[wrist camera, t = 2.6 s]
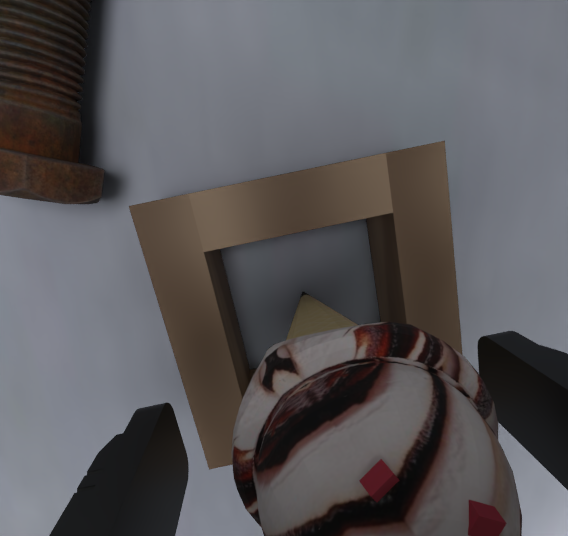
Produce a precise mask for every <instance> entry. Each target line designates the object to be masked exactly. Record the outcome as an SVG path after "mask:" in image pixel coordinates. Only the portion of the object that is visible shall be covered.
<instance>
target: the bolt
mask: <svg viewBox="0 0 568 536" xmlns="http://www.w3.org/2000/svg"><path fill="white" fill-rule="evenodd" d="M89 2H91V0H0V195H5V196H11V197H18V198H24V199H32V200H40V201H48V202H55V203H62V204H93V203H98V202H99V201H100V199H101V196H102V188H103V180H104V171H105V170H104V169H101V168H98V167H95V166H91V165H86V164H82V163H78V161H79V151H80V141H81V131H82V123H81V120H80V119H81V114H80V113H79V111H78V110H80V109H81V105H80V104H79V103H78V102H77V101H80V100H82V97H81V96H80V95H79V94H78V93H77V92H83V88H82V87H81V86H80V85H79V84H82V83H84V80H83V79H82V78H81V77H80V75H84V73H85V71H84V69H83V68H82V67H84V66H85V65H86V62H85V61H84V59H83V58H84V57H86V55H87V53H86V52H85V50H84V48H87V45H88V44H87V43H86V41H85V39H88V34H87V32H86V30H88V29H89V24H88V23H87V22H86V21H88V20H90V16H89V14H88V12H89V11H90V10H91V6H90V4H89Z"/></svg>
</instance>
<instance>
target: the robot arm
mask: <svg viewBox="0 0 568 536" xmlns="http://www.w3.org/2000/svg"><path fill="white" fill-rule="evenodd" d="M478 360H479V375H480V377H481V378H482V380H483V381H484V383H485V385H486V387H487V389H488V391H489V394H490V396H491V398H492V400H493V402H494V406H495V411H496V416H497V420H498V422H499V423H500V424H501V425H502V426H503V427H504V428H505V429H506V430H507V431H508V432H509V433H510V434H511V435H512V436H513V437H514V438H515V439H516V440H517V441H518V442H519V443H520V444H521V445H522V446H523V447H524V448H525V449H526V450H527V451H529V452H530V453H531V454H532V455H533V456H534V457H535V458H536V459H537V460H538V461H539V462H540V463H541V464H542V465H543V466H544V467H545V468H546V469H547V470H548V471H549V472H550V473H551V474H552V475H553V476H554V477H555V478H556V479H557V480H558V481H559V482H560V483H561V484H562V485H563V486H564V487H565V488H566V489H567V490H568V354H567V353H564V352H561V351H558V350H554V349H551V348H548V347H545V346H541V345H538V344H536V343H534V342H533V341H531V340H529V339H527V338H526V337H524V336H522V335H520V334H519V333H517V332H515V331H507V332H502V333H497V334H493V335H488V336H483V337H481V338H480V339H479V341H478ZM187 481H188V458H187V453H186V450H185V446H184V443H183V440H182V437H181V433H180V430H179V427H178V424H177V420H176V417H175V414H174V411H173V408H172V406H171V405H170V404H169V403H163V404H158V405H154V406H149V407H144V408H140V409H137V410H136V411H135V413H134V414H133V416H132V418H131V420H130V422H129V424H128V426H127V427H126V429H125V431H124V433H123V434H118V435H116V436H115V437H114V438H113V439H112V440H111V441H110V442H109V443H108V444H107V445H106V446H105V447H104V448H103V449H102V450H101V451H100V452H99V453H98V454H97V456H96V458H95V459H94V461H93V463H92V464H91V466H90V468H89V469H88V471H87V476H84V478H83V480H82V481H81V483H80V485H79V486H78V488H77V493H74V495H73V497H72V498H71V500H70V502H69V503H68V505H67V507H66V508H65V510H64V512H63V513H62V515H61V517H60V519H59V520H58V522H57V524H56V525H55V527H54V529H53V530H52V532H51V534H50V535H49V536H175V533H176V529H177V525H178V520H179V516H180V512H181V507H182V503H183V499H184V495H185V490H186V486H187Z"/></svg>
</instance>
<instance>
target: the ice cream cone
mask: <svg viewBox="0 0 568 536" xmlns="http://www.w3.org/2000/svg"><path fill="white" fill-rule="evenodd" d="M232 463H233V473H234V480H235V483H236V487H237V490H238V492H239V494H240V497H241V499H242V501H243V503H244V506H245V508H246V510H247V511H248V512H249V513H250V515H251V516H252V517H253V518H254V519H255V521H256V522H257V523H258V524H259V525H260V526H261V527H262V530H263V534H264V536H521V530H522V514H521V509H520V504H519V499H518V494H517V489H516V484H515V480H514V475H513V471H512V469H511V467H510V465H509V462H508V460H507V458H506V456H505V454H504V451H503V449H502V447H501V445H500V443H499V441H498V420H497V416H496V411H495V406H494V402H493V400H492V398H491V396H490V394H489V391H488V389H487V387H486V385H485V383H484V381H483V380H482V378H481V377H480V375H479V374H478V372H477V371H476V370H475V369H474V368H473V366H472V365H471V364H470V363H469V362H468V360H467V359H466V358H465V357H464V356H463V355H461V354H460V353H459V352H458V351H456V350H455V349H454V348H452V347H451V346H450V345H448V344H447V343H446V342H444V341H443V340H441V339H439V338H437V337H435V336H433V335H431V334H429V333H427V332H425V331H423V330H421V329H419V328H417V327H415V326H413V325H411V324H403V323H396V322H380V323H371V324H363V325H357V324H356V323H354V322H352V321H351V320H349V319H348V318H346V317H344V316H343V315H341V314H339V313H338V312H336V311H334V310H333V309H331V308H330V307H328V306H326V305H325V304H323V303H321V302H320V301H318V300H316V299H315V298H313V297H312V296H310V295H308V294H307V293H305V292H302V295H301V297H300V300H299V303H298V306H297V309H296V312H295V315H294V318H293V321H292V324H291V327H290V330H289V333H288V336H287V339H286V341H283V342H280V343H277V344H274V345H273V346H272V347H270V348H269V349H268V350H267V352H266V354H265V355H264V357H263V359H262V361H261V363H260V365H259V366H258V368H257V370H256V372H255V374H254V375H253V377H252V379H251V382H250V384H249V386H248V388H247V390H246V392H245V394H244V397H243V399H242V402H241V405H240V407H239V411H238V415H237V418H236V422H235V426H234V430H233V441H232Z"/></svg>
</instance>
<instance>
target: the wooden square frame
mask: <svg viewBox="0 0 568 536" xmlns="http://www.w3.org/2000/svg"><path fill="white" fill-rule="evenodd" d="M129 209H130V212H131V215H132V218H133V222H134V225H135V228H136V231H137V235H138V238H139V241H140V245H141V248H142V251H143V254H144V258H145V261H146V264H147V267H148V271H149V274H150V277H151V280H152V284H153V287H154V290H155V294H156V297H157V300H158V303H159V307H160V310H161V313H162V316H163V320H164V323H165V326H166V330H167V333H168V336H169V339H170V343H171V346H172V349H173V352H174V356H175V359H176V362H177V365H178V369H179V372H180V375H181V379H182V382H183V385H184V388H185V392H186V395H187V398H188V401H189V405H190V408H191V411H192V414H193V418H194V421H195V424H196V428H197V431H198V434H199V437H200V441H201V444H202V447H203V450H204V454H205V457H206V460H207V464H208V467H209V469H213V468H218V467H222V466H227V465H232V464H233V463H232V441H233V430H234V426H235V422H236V418H237V415H238V411H239V407H240V405H241V402H242V399H243V397H244V394H245V392H246V390H247V388H248V386H249V384H250V382H251V379H252V377H253V375H254V374H255V372H256V370H257V368H256V369H251V370H250V368H249V364H248V360H247V356H246V352H245V348H244V344H243V340H242V336H241V332H240V328H239V324H238V320H237V316H236V312H235V308H234V304H233V300H232V296H231V292H230V288H229V284H228V280H227V276H226V272H225V268H224V264H223V260H222V256H221V252H220V249H221V248H226V247H231V246H235V245H240V244H245V243H250V242H255V241H259V240H264V239H269V238H274V237H279V236H283V235H288V234H293V233H298V232H302V231H307V230H312V229H317V228H322V227H326V226H331V225H336V224H341V223H346V222H350V221H355V220H360V219H365V218H366V222H367V229H368V236H369V243H370V250H371V257H372V264H373V271H374V278H375V285H376V292H377V299H378V306H379V313H380V320H381V322H396V323H403V324H411V325H413V326H415V327H417V328H419V329H421V330H423V331H425V332H427V333H429V334H431V335H433V336H435V337H437V338H439V339H441V340H443V341H444V342H446V343H447V344H448V345H450V346H451V347H452V348H454V349H455V350H456V351H458V352H459V353H460V354H461V355H462V344H461V332H460V320H459V308H458V296H457V284H456V272H455V260H454V248H453V236H452V224H451V212H450V200H449V188H448V176H447V164H446V152H445V141H441V142H436V143H431V144H426V145H422V146H417V147H412V148H407V149H402V150H398V151H393V152H388V153H383V154H378V155H373V156H369V157H364V158H359V159H354V160H349V161H344V162H340V163H335V164H330V165H325V166H320V167H315V168H311V169H306V170H301V171H296V172H291V173H287V174H282V175H277V176H272V177H267V178H262V179H258V180H253V181H248V182H243V183H238V184H233V185H229V186H224V187H219V188H214V189H209V190H204V191H200V192H195V193H190V194H185V195H180V196H175V197H171V198H166V199H161V200H156V201H151V202H147V203H142V204H137V205H132V206H129Z"/></svg>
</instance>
